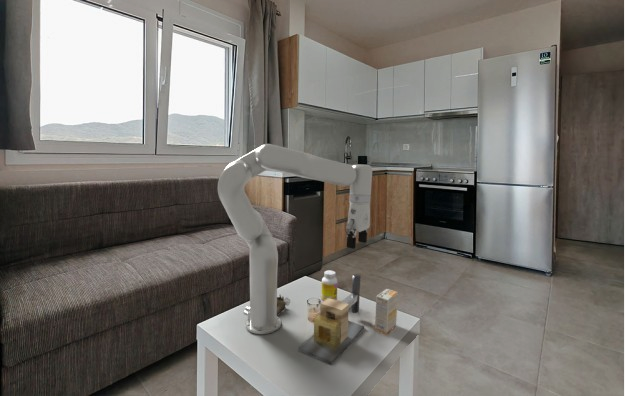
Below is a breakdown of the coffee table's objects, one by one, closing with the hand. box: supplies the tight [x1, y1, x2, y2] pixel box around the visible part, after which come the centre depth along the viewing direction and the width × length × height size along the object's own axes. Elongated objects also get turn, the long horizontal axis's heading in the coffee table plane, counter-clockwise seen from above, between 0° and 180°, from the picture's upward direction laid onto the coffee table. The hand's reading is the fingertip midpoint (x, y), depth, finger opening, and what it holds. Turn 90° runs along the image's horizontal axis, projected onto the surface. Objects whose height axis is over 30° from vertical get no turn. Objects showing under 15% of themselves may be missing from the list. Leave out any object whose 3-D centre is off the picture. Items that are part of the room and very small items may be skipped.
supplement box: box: [374, 288, 399, 335], centre depth 116 cm, size 8×5×13 cm, turn 141°
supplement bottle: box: [320, 269, 339, 303], centre depth 135 cm, size 7×7×13 cm
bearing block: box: [298, 298, 365, 365], centre depth 108 cm, size 12×24×13 cm, turn 148°
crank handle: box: [330, 274, 362, 318], centre depth 115 cm, size 3×18×14 cm, turn 148°
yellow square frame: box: [313, 314, 340, 349], centre depth 104 cm, size 8×3×8 cm, turn 58°
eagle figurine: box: [277, 294, 291, 317], centre depth 126 cm, size 8×7×9 cm
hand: (356, 244), depth 118 cm, fingers open, 9 cm apart
